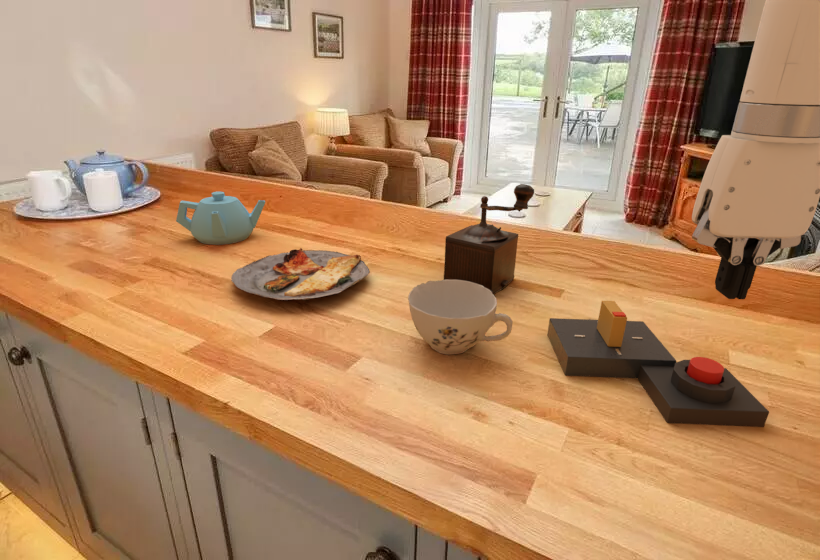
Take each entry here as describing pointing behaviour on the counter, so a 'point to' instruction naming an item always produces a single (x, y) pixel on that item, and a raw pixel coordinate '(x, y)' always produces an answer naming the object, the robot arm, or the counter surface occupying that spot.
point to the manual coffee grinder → (485, 248)
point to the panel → (605, 349)
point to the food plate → (300, 274)
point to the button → (705, 370)
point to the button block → (700, 398)
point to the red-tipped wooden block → (611, 323)
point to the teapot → (219, 219)
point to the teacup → (455, 314)
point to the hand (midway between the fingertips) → (729, 293)
